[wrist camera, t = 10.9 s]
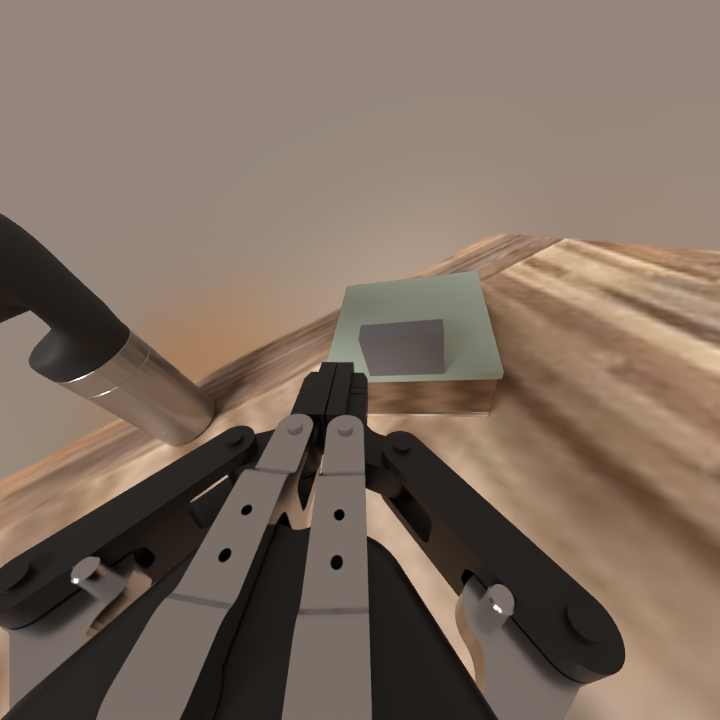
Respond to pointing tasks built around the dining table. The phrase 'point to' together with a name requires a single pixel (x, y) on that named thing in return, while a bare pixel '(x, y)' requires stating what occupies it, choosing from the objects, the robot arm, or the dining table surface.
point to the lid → (418, 330)
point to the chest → (431, 398)
